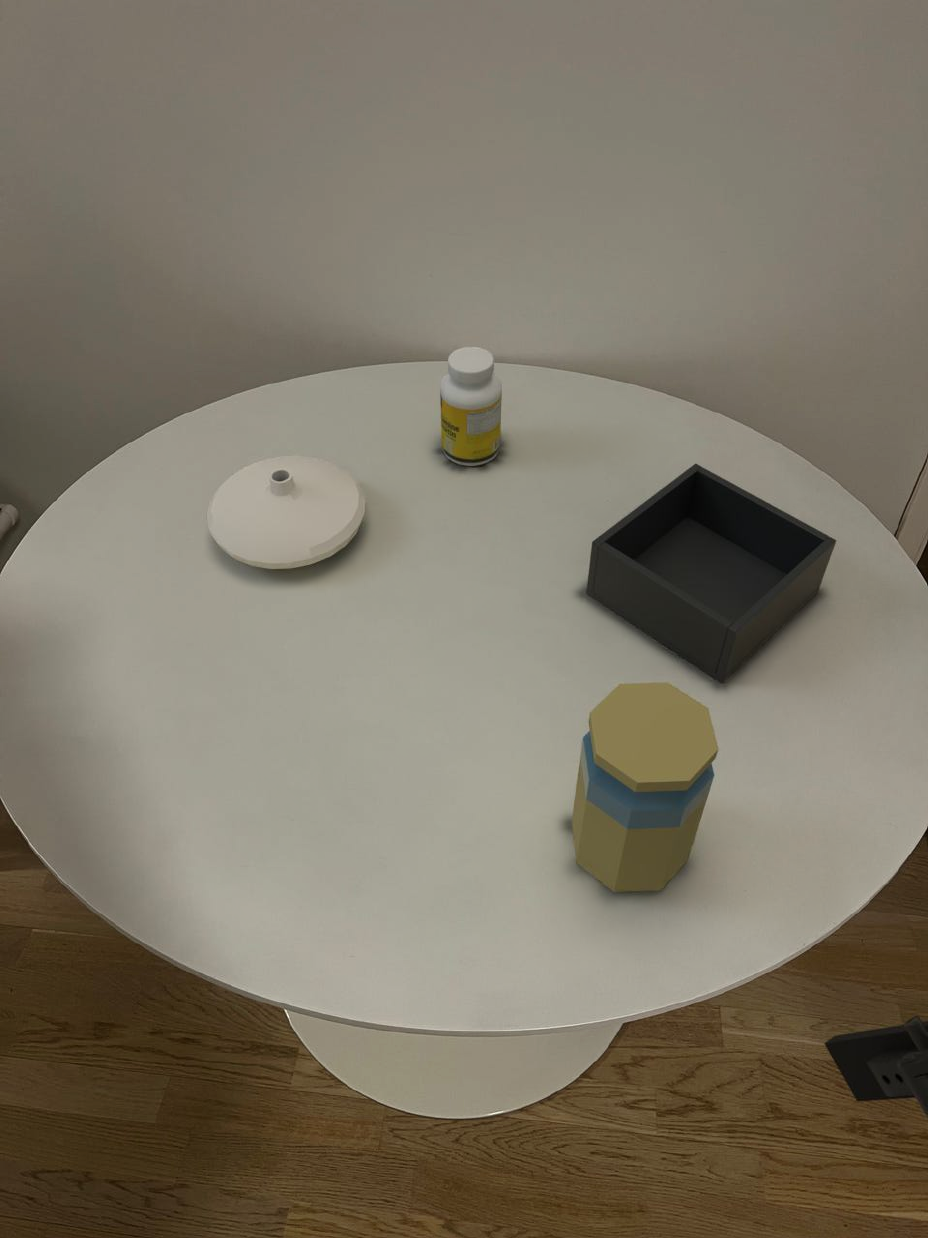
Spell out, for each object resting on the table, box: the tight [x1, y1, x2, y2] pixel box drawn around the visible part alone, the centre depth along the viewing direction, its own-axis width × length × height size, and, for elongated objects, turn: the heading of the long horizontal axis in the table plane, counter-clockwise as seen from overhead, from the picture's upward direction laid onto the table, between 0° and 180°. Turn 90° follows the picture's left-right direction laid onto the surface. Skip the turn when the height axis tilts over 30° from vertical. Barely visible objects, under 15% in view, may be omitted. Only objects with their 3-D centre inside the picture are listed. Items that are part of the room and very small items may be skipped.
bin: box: [585, 463, 837, 684], centre depth 93 cm, size 16×16×7 cm
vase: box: [205, 455, 366, 570], centre depth 100 cm, size 16×16×7 cm
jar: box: [571, 681, 719, 893], centre depth 72 cm, size 9×9×15 cm
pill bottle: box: [439, 346, 503, 467], centre depth 106 cm, size 6×6×12 cm
